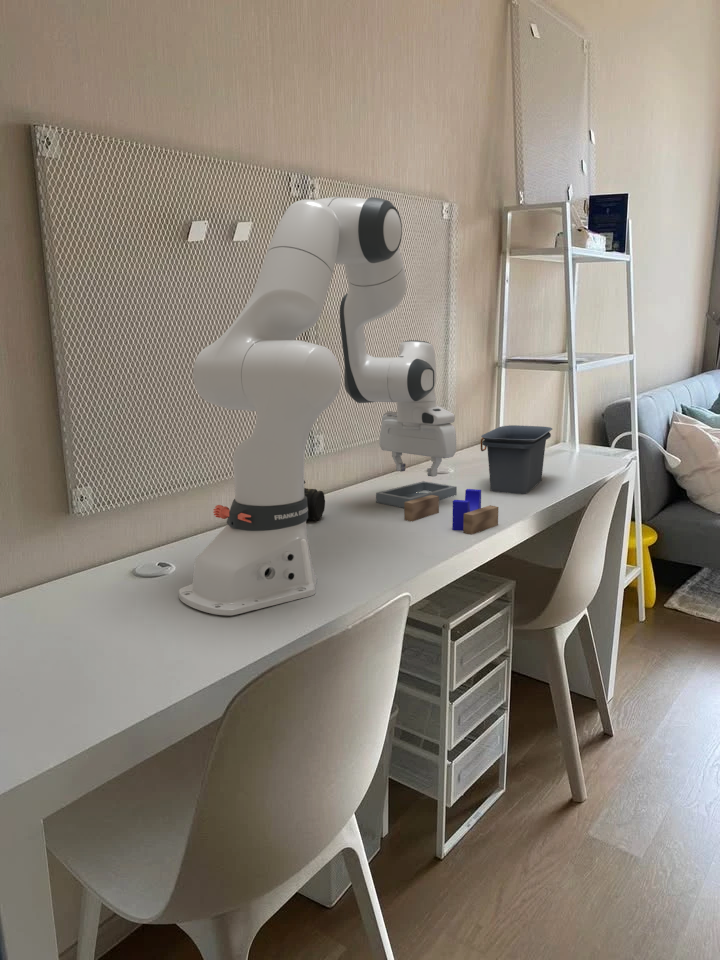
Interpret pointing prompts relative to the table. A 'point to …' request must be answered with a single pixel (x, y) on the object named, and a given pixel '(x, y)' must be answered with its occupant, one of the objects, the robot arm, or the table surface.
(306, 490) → the film camera
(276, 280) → the robot arm
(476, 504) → the blue curved block
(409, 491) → the slate tray
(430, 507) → the far walnut block
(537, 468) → the storage bin
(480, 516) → the near walnut block
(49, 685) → the table surface
